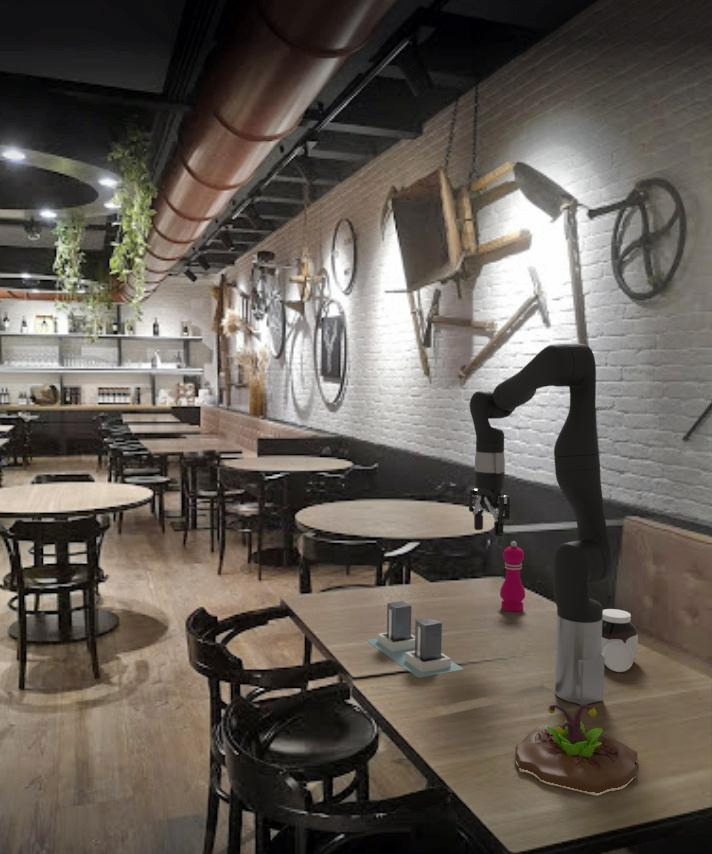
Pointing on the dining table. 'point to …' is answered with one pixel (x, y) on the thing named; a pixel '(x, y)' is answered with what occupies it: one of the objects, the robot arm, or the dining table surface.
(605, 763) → the plant
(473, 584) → the dining table surface
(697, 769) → the dining table surface
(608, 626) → the spread jar
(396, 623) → the loose billet
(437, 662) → the pallet
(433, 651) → the seated billet
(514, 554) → the pepper mill
